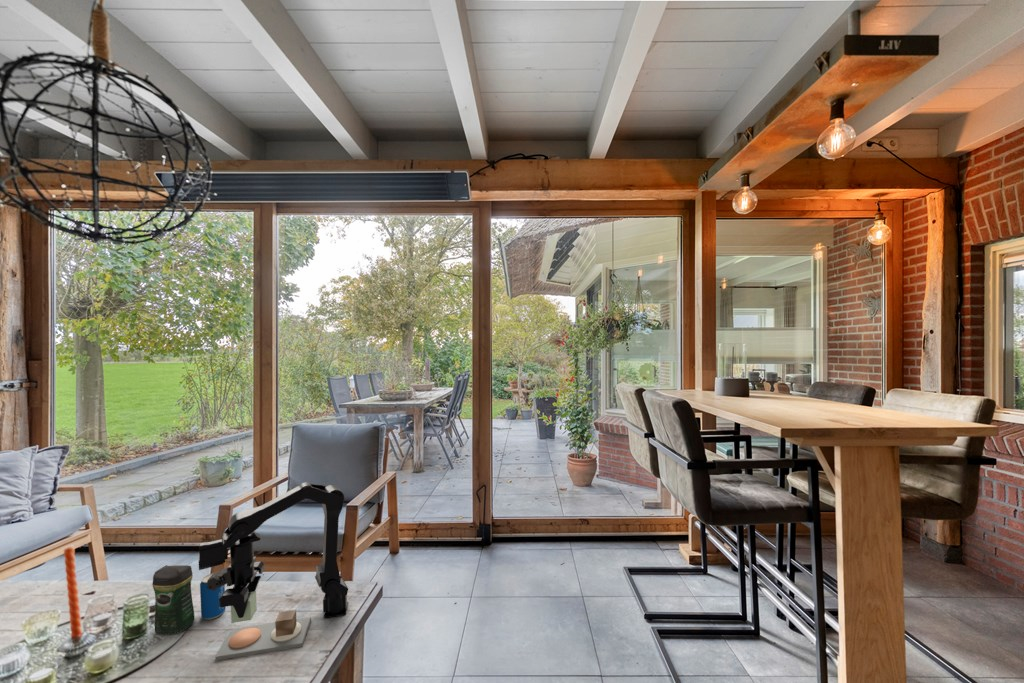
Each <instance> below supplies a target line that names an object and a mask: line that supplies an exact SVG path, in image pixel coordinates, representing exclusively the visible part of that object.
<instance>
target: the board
mask: <svg viewBox="0 0 1024 683" xmlns="http://www.w3.org/2000/svg"><path fill="white" fill-rule="evenodd" d="M311 621H312V618H311V616H309V617H301V618H296V623H297V625H296V627H295V630H294V632H293V634H291V635H285V636H278V637H276V626H275V621H274V622H270V623H268V622H267V623H262V624H256V625H249V626H241V627H234V628H231V630H230V631H229V632H228V635H227V636H226V638H225V639H224V641H223V643H222V645H221V646H220V648H219V650H218V651H217V653H216V655H215V657H214V658H215V659H214V661H221V660H226V659H227V660H228V659H232V658H239V657H244V656H251V655H252V656H253V655H257V654H263V653H271V652H277V651H282V650H288V649H294V648H300V647H303V646H304V641H305V640H306V636H307V634H308V630H309V627H310V624H311Z"/></svg>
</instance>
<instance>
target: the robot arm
mask: <svg viewBox="0 0 1024 683" xmlns="http://www.w3.org/2000/svg"><path fill="white" fill-rule="evenodd" d="M304 500H311V501H312V502H316V503H318V504H321V505H322V509H323V514H324V520H323V521H324V523H323V545H322V546H323V548H322V561H321V563H320V564H318V565H315V570H316V571H315V572H316V573H315V575H314V579H315V581H316V583H317V585H318V587H319V588H320V589H321V592H322V593H324V595H323V599H322V609H323V610H322V611H323V612H322V613H323V614H324V615H323V618H324V619H327V618H333V617H340V616H345V615H347V612H348V607H349V601H348V592H349V587H348V585H347V583H346V582H345V580H344V578H343V576H341V575H340V570H339V569H340V568H339V565H338V545H339V544H338V542H339V541H338V540H339V518H340V515H341V513H342V511H343V507H344V502H345V494H344V493H343V491H342V490H341V489H340V488H339V487H338V486H337V485H335V484H329V485H324V484H317V483H310V482H306V481H305V482H302V483H300V484H299V485H297V486H296V487H294V488H292V489H290V490H288V491H287V492H284V493H283V494H280V495H279V496H277V497H275V498H273V499H272V500H269V501H267V502H266V503H264V504H262V505H260V506H256V507H251V508H247V509H245V510H242V511H238V512H236V513H235V514H233V515H231V517H230V519H229V521H228V527H227V528H226V530H224V532H223V534H222V535H221V539H216V540H213V541H208V542H207V541H206V542H200V543H198V544H199V545H198V570H199V571H201V570H206V569H209V568H214V567H217V566H220V565H224V563H226V560H228V549H229V553H230V554H229V555H230V556H229V557H230V560H229V561H230V564H229V565H228V566H226V567H224V568H222V569H220V570H217V571H216V572H213V573H214V574H212V573H211V574H212V576H211V577H210V578H209V579H208V580H207V589H209V590H212V591H214V590H216V589H217V588H219V587H221V586H223V585H225V586H226V587H231V586H232V588H227V589H225V592H224V593H223V594H222V596H221V597H220V599H219V607H231V606H233V607H234V609H235V611H236V613H237V615H238V617H239V618H243V616H244V613H245V611H246V607H247V604H248V601H249V598H250V595H251V593H249V592H253V591H256V590H257V588H258V586H259V583H260V580H261V578H262V576H261V575H262V574H263V572H264V571H265V562H263V561H261V560H260V561H257V556H254V555H255V554H254V542H259V541H260V540H261V536H260V535H261V534H259V533H258V532H256V531H257V530H259V527H262V524H264V523H265V522H266V521H268V520H269V519H271V518H273V517H276V516H277V515H278V514H281V513H283V512H284V511H286V510H287V509H290V508H291V507H293V506H295V505H298V504H299V503H301V502H302V501H304ZM257 571H258V573H257ZM257 574H259V575H257ZM256 592H257V591H256Z"/></svg>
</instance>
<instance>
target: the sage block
mask: <svg viewBox="0 0 1024 683" xmlns="http://www.w3.org/2000/svg"><path fill="white" fill-rule="evenodd" d="M249 593H251V595H250V598H249V601H248V604H247V607H246V611H245V613H244V616H243V618H239V617H238V615H237V613H236V611H235V609H234V607H233V606H230V616H231V617H230V620H231V622H230V623H232V624H234V623H241V622H246V621H247V622H249V621H252V619H253V617H254V615H255V614H256V612H257V610H258V608H257V606H258V605H257V604H258V603H257V591H253V592H249Z"/></svg>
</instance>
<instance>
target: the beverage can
mask: <svg viewBox="0 0 1024 683" xmlns="http://www.w3.org/2000/svg"><path fill="white" fill-rule="evenodd" d="M214 573H215V572H211V573H210V574H207V575H205V576H203V577H202V578H201V582H199V583H200V584H199V589H200V590H199V593H200V616H201V619H205V620H214V619H216V618H218V617H220V616H221V615H222V614H223V613H225V611H226V607H219V599H220V597H221V596H222V594H223V593H224V592H225V591H226V584H225V585H223V586H221V587H219V588H217V589H216V590H214V591H212V590H209V589H207V580H208V579H209V578H210V577H211V576H212V574H214Z"/></svg>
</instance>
